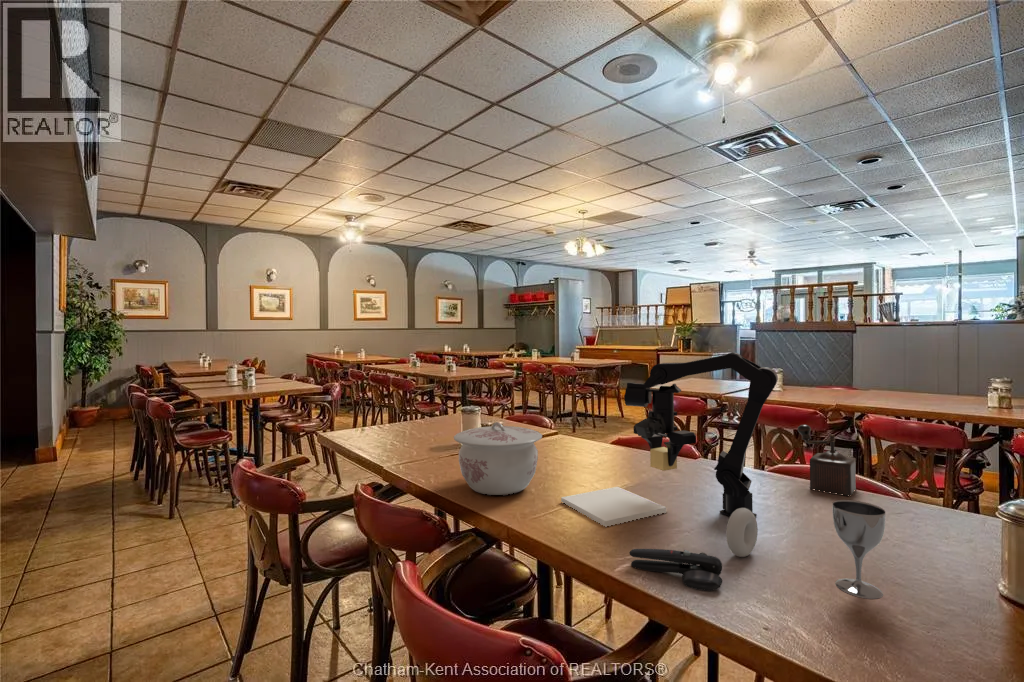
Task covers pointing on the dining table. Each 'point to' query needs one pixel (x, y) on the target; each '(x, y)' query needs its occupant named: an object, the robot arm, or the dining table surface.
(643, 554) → the can opener
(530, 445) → the chamber pot
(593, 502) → the board
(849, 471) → the coffee grinder
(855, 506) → the wine glass
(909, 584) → the dining table surface
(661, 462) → the cube
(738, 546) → the donut
